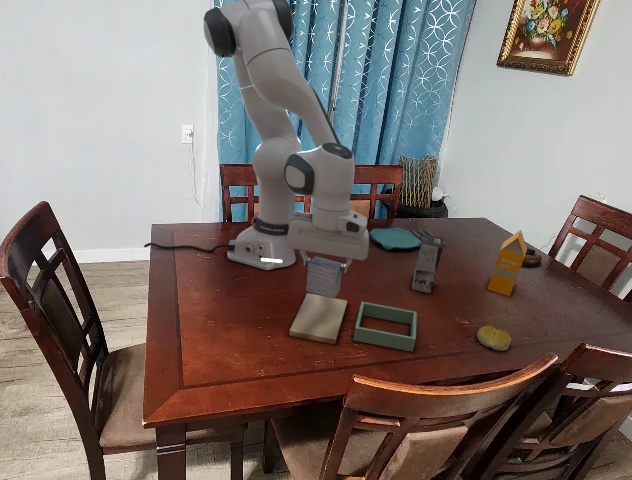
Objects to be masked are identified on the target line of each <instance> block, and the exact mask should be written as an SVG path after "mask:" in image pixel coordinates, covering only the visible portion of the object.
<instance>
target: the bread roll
mask: <svg viewBox="0 0 632 480" xmlns="http://www.w3.org/2000/svg"><path fill="white" fill-rule="evenodd" d="M476 337H477V339H478V342H479V343H480V344H481V345H483V346H484V347H487V348H491V349H492V350H494V351H498V352H500V351H501V352H504V351H506V350H508V349H509V347H510V345H511V343H512V340H513V339H512V337H511V335H510V334H509V333H508V332H507V331H506V330H503V329H497V328H496V327H495V326H493V325H484V326H482V327H481V328H479V329H478V331H477V334H476Z"/></svg>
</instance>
